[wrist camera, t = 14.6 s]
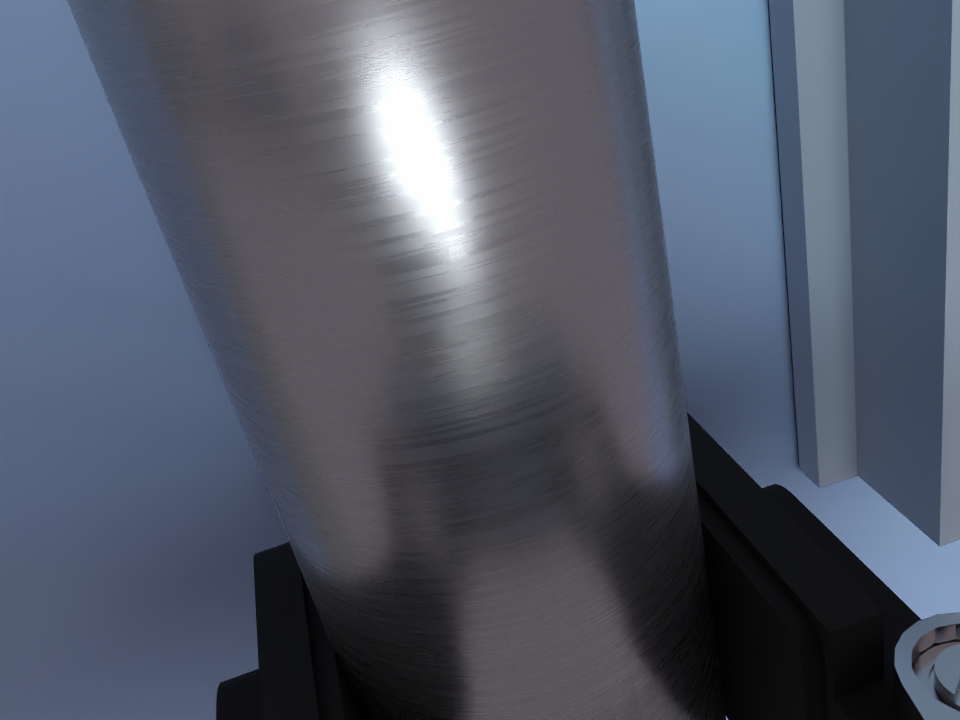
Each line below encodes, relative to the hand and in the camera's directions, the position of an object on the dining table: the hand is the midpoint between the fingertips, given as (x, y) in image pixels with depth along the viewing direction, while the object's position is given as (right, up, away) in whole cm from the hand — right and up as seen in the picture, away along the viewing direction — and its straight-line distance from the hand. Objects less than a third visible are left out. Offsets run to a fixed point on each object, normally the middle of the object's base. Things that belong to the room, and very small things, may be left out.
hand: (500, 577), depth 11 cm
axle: (-1, +4, -1) cm, 4 cm away
